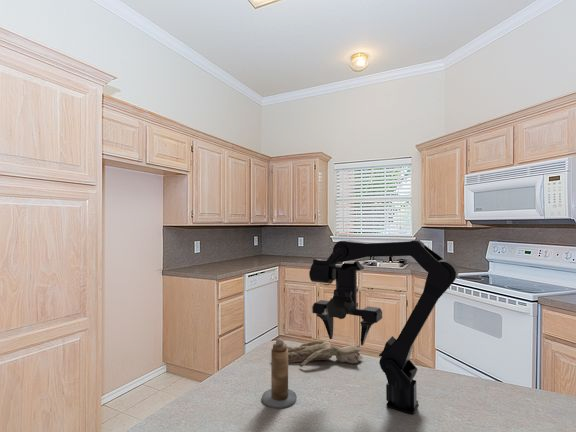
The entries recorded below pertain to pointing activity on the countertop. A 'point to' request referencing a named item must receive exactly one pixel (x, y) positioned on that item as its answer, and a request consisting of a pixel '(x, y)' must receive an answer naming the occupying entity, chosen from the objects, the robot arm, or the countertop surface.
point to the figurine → (323, 353)
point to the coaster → (279, 404)
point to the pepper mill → (279, 371)
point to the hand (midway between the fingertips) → (346, 341)
